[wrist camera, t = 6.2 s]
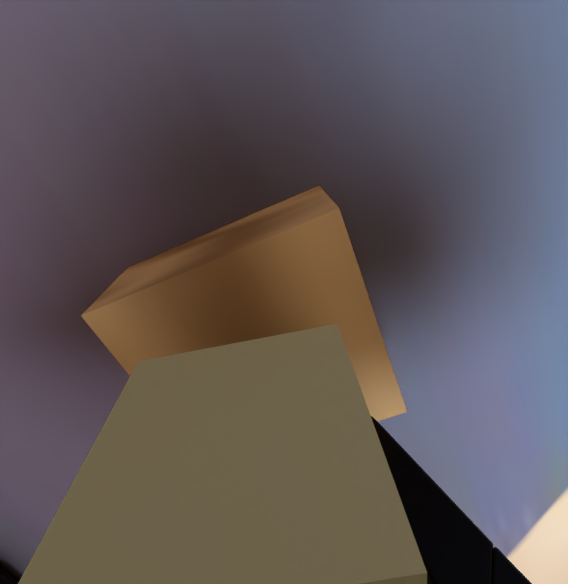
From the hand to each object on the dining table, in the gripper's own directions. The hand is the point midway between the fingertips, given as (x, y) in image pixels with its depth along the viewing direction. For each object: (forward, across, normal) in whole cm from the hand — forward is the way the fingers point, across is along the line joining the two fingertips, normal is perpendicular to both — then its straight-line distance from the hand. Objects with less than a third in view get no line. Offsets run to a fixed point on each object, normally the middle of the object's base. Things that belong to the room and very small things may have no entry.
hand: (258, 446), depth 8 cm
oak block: (+7, 0, 0) cm, 7 cm away
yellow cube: (+1, 0, 0) cm, 1 cm away
